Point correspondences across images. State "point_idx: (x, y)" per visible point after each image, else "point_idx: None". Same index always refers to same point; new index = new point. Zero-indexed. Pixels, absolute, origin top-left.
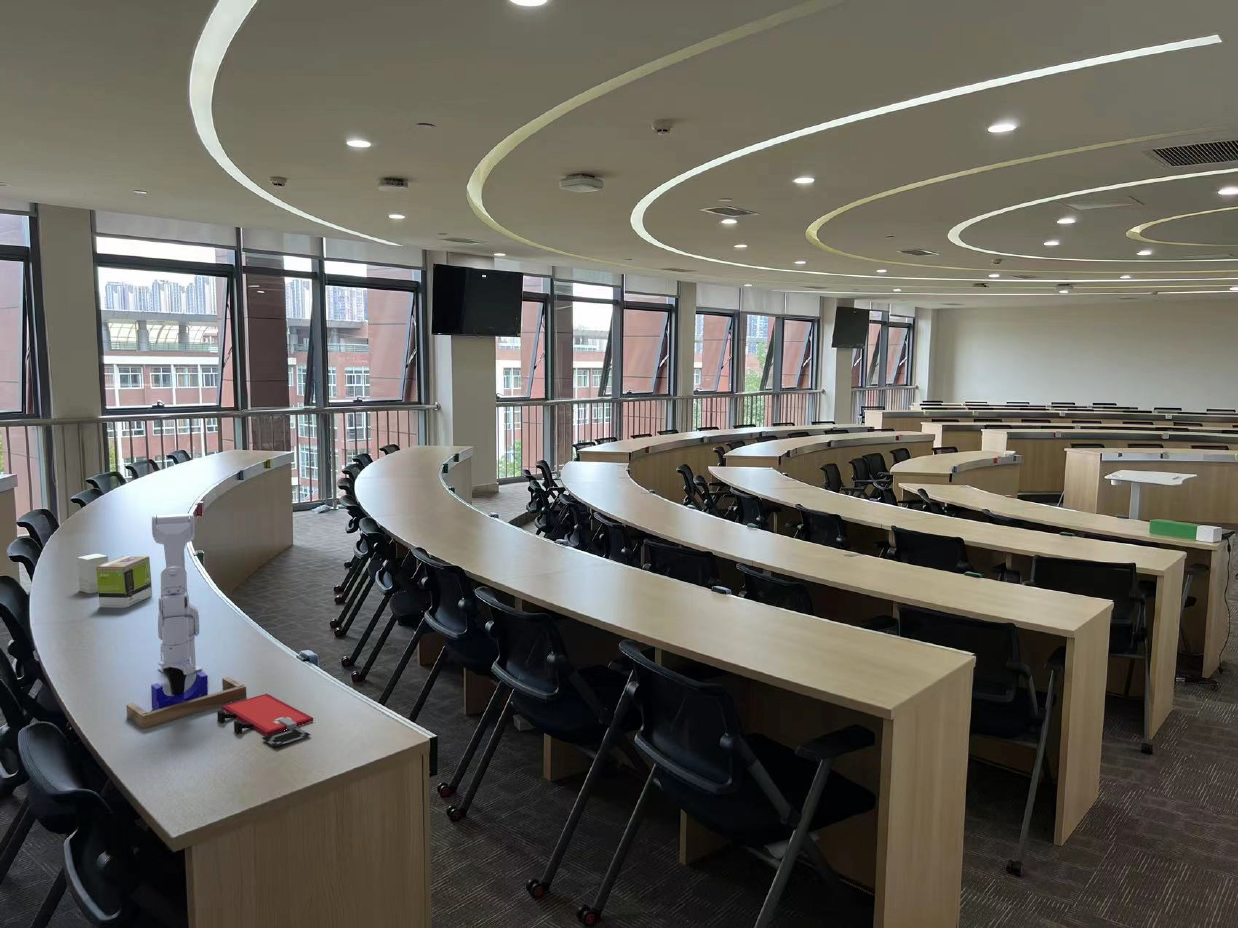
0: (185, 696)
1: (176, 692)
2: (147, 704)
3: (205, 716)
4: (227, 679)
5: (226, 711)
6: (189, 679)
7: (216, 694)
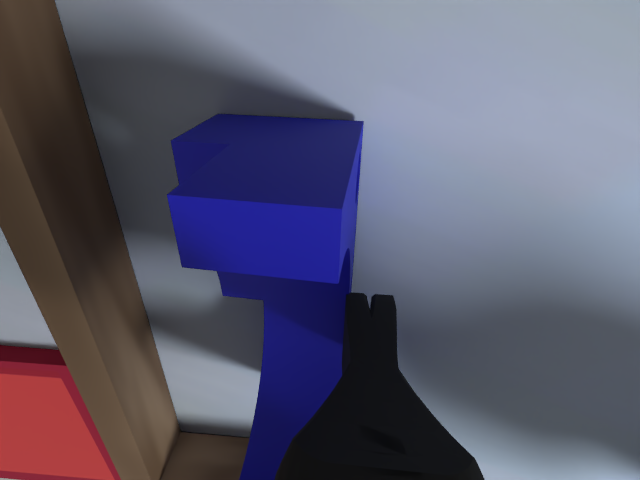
0: (285, 325)
1: (344, 319)
2: (484, 136)
3: (22, 273)
4: None
5: (33, 350)
6: (616, 437)
7: (96, 414)
